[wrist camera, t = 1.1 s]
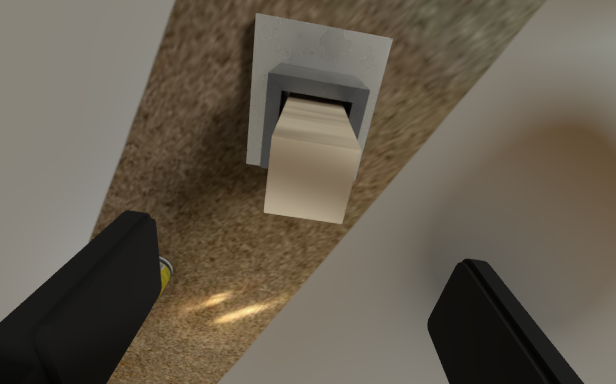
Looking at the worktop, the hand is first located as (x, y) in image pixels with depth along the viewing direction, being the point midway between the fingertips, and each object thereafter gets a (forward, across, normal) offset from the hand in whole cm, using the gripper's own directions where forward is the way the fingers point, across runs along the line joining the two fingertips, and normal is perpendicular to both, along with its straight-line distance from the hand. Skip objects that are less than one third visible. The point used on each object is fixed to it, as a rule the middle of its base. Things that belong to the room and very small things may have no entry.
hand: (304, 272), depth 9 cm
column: (+21, 0, -1) cm, 21 cm away
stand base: (+24, 0, -1) cm, 24 cm away
